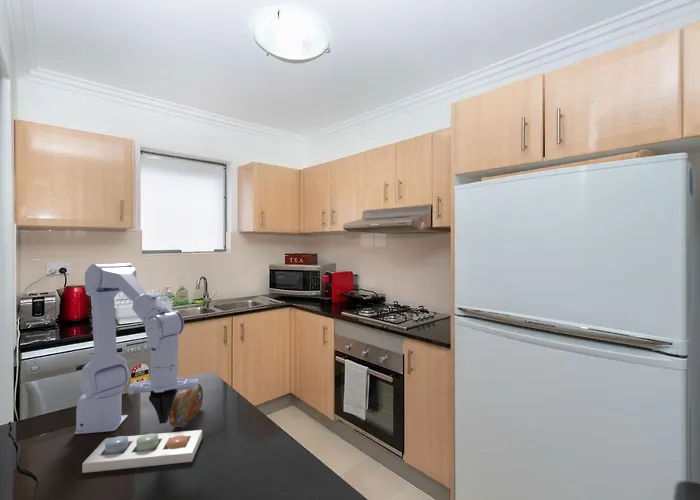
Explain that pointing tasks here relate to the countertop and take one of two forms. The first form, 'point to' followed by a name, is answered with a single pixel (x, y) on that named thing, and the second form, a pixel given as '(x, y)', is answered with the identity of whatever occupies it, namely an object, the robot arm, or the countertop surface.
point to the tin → (185, 406)
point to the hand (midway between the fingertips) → (164, 421)
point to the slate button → (116, 445)
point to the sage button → (147, 442)
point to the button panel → (144, 453)
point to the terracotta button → (177, 442)
